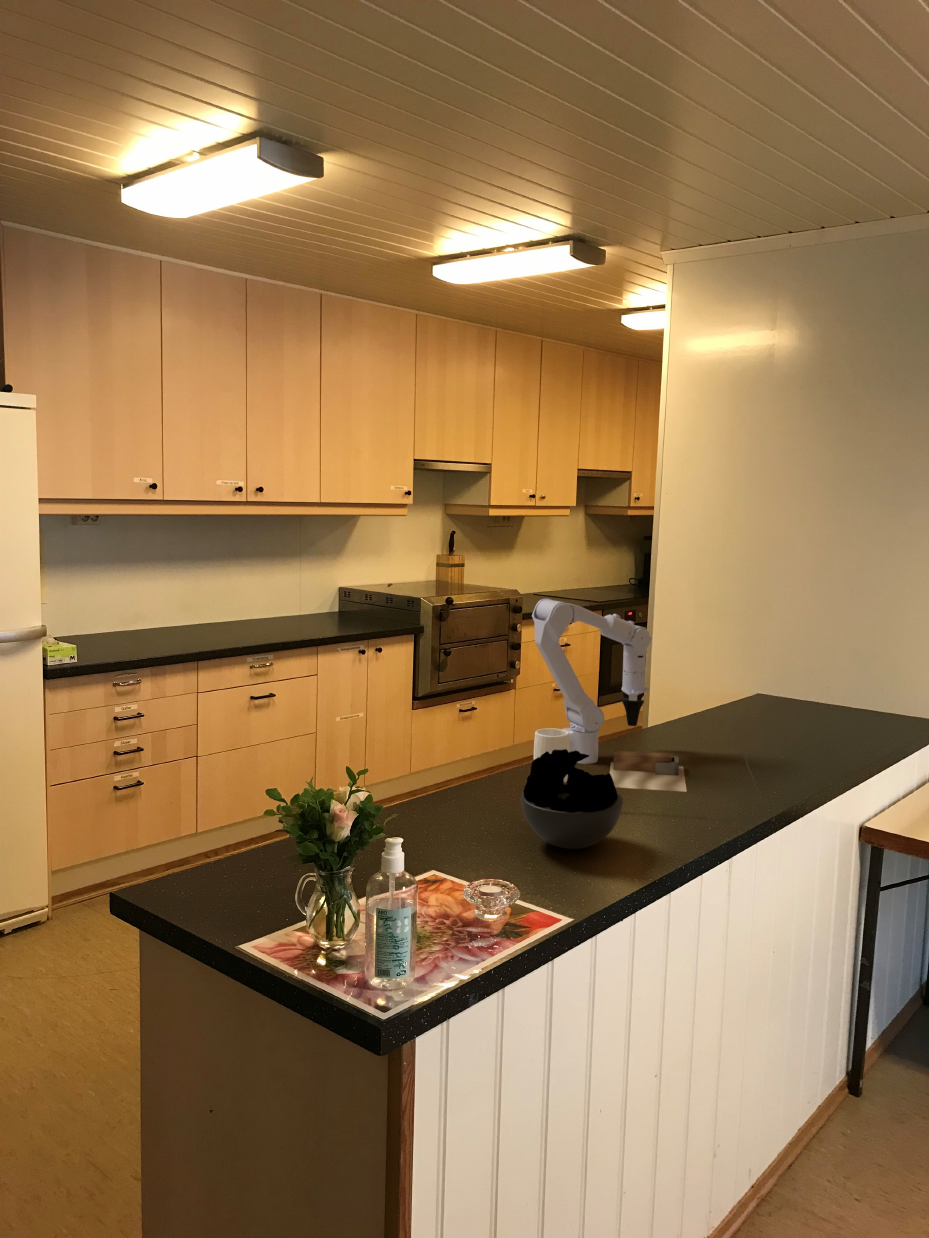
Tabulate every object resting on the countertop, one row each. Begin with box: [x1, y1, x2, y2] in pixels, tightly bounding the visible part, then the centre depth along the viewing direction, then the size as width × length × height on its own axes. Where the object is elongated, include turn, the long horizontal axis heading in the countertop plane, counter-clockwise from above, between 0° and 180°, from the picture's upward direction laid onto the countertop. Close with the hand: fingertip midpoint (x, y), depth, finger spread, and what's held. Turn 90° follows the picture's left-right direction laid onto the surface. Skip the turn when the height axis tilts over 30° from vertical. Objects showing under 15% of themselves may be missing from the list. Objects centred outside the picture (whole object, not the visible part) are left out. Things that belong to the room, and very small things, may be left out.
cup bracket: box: [655, 755, 680, 776], centre depth 243 cm, size 6×7×3 cm
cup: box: [533, 727, 570, 782], centre depth 228 cm, size 8×8×14 cm
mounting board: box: [609, 761, 687, 793], centre depth 239 cm, size 18×21×1 cm
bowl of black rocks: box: [520, 749, 624, 850], centre depth 193 cm, size 20×20×19 cm
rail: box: [613, 750, 673, 772], centre depth 244 cm, size 14×3×4 cm, turn 80°
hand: (632, 722), depth 257 cm, fingers open, 7 cm apart
